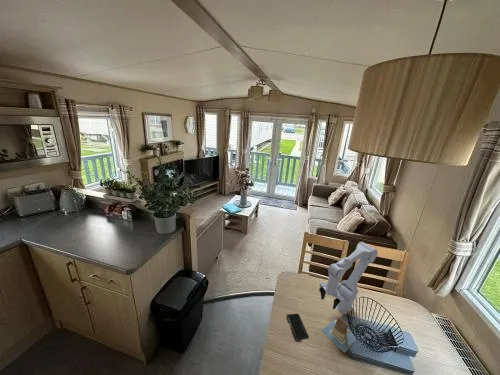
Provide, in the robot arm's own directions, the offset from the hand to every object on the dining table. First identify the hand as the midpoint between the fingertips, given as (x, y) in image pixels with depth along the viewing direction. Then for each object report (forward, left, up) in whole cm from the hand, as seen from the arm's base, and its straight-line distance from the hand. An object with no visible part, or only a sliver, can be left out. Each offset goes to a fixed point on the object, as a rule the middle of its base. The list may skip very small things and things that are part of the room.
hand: (328, 303), depth 122 cm
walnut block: (+3, +11, -6) cm, 13 cm away
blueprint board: (+3, +11, -10) cm, 15 cm away
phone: (+19, -5, -11) cm, 22 cm away
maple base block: (+3, +11, -10) cm, 15 cm away
